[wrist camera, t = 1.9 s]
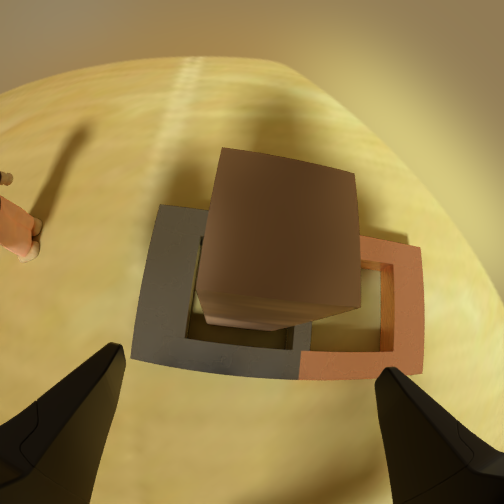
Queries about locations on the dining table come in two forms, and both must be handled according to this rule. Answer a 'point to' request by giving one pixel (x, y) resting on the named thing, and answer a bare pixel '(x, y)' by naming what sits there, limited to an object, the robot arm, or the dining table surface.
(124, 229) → the dining table surface
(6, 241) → the grandmother figurine
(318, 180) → the walnut post
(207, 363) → the grey-tan flat frame piece
